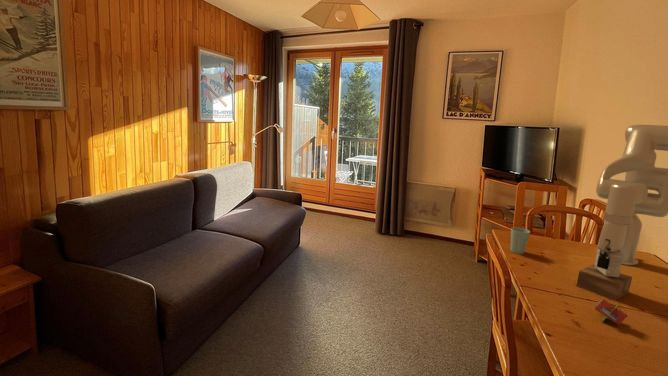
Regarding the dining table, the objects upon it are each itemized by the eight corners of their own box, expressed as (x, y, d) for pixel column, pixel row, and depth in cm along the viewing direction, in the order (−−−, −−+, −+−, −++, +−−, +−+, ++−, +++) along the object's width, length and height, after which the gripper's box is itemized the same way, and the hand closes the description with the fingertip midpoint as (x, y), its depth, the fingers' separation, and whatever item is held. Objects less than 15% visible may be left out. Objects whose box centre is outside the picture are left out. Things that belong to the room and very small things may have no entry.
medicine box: (619, 278, 122) (624, 254, 120) (604, 276, 123) (610, 253, 121) (606, 268, 129) (611, 246, 127) (593, 267, 130) (598, 245, 128)
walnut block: (590, 278, 135) (593, 264, 134) (628, 292, 125) (632, 276, 124) (576, 285, 129) (579, 270, 127) (615, 300, 119) (619, 284, 118)
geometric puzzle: (634, 319, 104) (619, 293, 106) (630, 327, 99) (613, 299, 101) (608, 323, 109) (593, 298, 111) (602, 331, 104) (587, 305, 106)
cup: (525, 250, 163) (528, 228, 161) (527, 256, 156) (531, 233, 154) (507, 247, 165) (510, 226, 163) (509, 253, 158) (512, 231, 156)
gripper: (614, 213, 130) (604, 257, 133) (594, 219, 120) (584, 266, 124) (639, 218, 124) (629, 264, 127) (621, 225, 114) (610, 274, 117)
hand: (607, 265), depth 125 cm, fingers closed on medicine box, 8 cm apart
